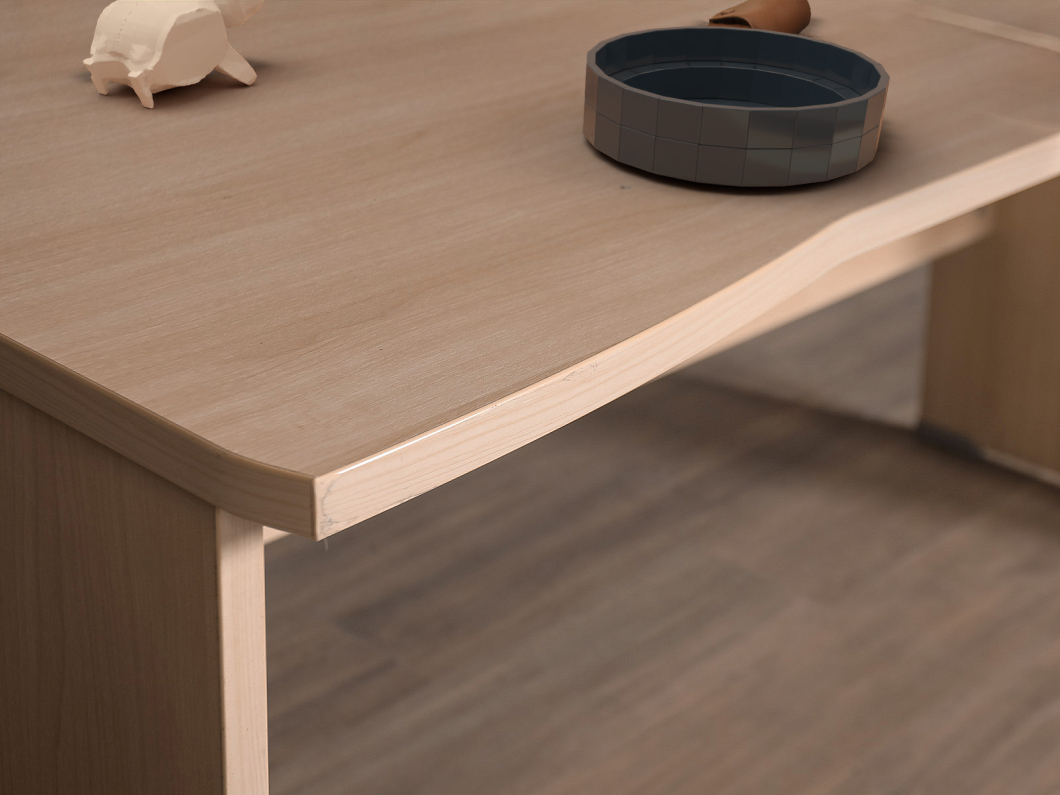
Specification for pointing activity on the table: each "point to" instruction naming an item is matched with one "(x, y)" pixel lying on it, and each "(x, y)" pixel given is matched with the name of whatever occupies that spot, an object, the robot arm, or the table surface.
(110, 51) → the white animal figurine
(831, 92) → the bowl
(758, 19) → the sunglasses case
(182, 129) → the table surface
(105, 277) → the table surface
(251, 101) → the table surface
